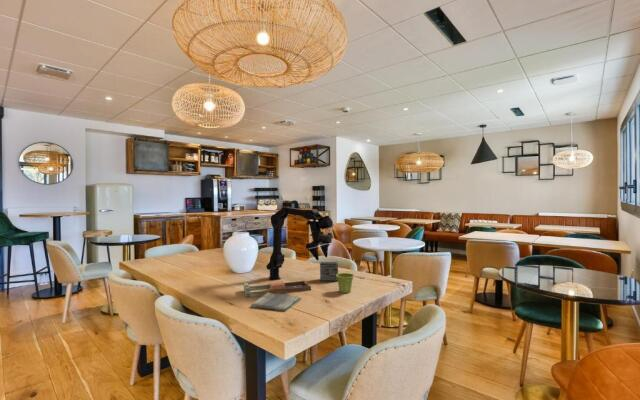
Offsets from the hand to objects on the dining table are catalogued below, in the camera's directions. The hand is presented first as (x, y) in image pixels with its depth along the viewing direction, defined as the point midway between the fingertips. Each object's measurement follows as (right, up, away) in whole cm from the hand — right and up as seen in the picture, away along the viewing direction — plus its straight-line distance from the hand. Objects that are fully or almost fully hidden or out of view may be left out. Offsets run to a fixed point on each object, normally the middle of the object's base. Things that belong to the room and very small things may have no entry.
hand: (322, 258), depth 176 cm
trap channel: (-24, -16, -6) cm, 29 cm away
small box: (+4, -15, +13) cm, 21 cm away
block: (-24, -16, -6) cm, 30 cm away
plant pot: (+12, -16, -10) cm, 22 cm away
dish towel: (-21, -17, -27) cm, 38 cm away
